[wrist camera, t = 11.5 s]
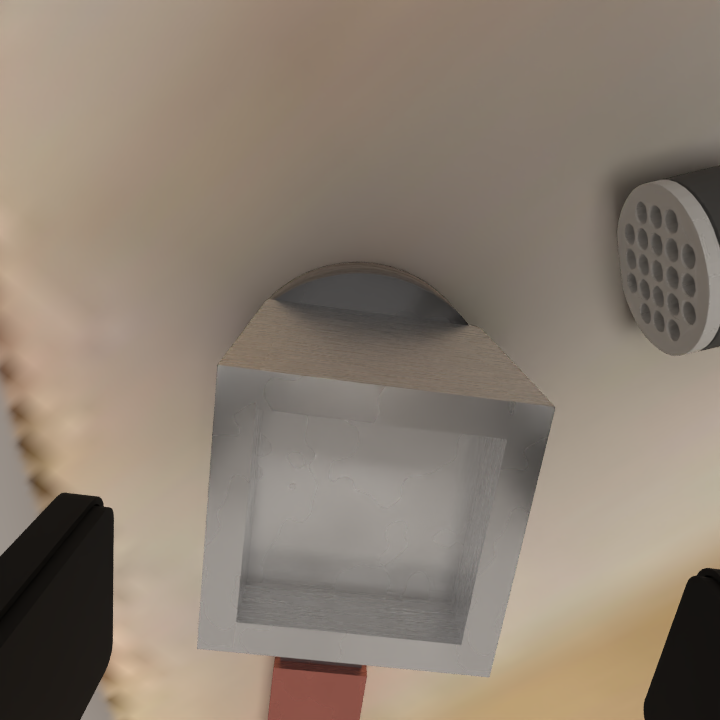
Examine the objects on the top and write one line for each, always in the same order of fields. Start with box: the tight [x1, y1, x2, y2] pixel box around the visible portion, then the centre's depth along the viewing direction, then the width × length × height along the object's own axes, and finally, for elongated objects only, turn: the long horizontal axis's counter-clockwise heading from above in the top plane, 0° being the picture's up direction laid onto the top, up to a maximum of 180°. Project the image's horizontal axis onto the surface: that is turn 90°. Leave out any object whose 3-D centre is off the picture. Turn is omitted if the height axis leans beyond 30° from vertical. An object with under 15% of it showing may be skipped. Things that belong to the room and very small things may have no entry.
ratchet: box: [255, 262, 468, 720], centre depth 20 cm, size 24×9×7 cm, turn 172°
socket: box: [197, 299, 555, 677], centre depth 16 cm, size 7×7×7 cm
